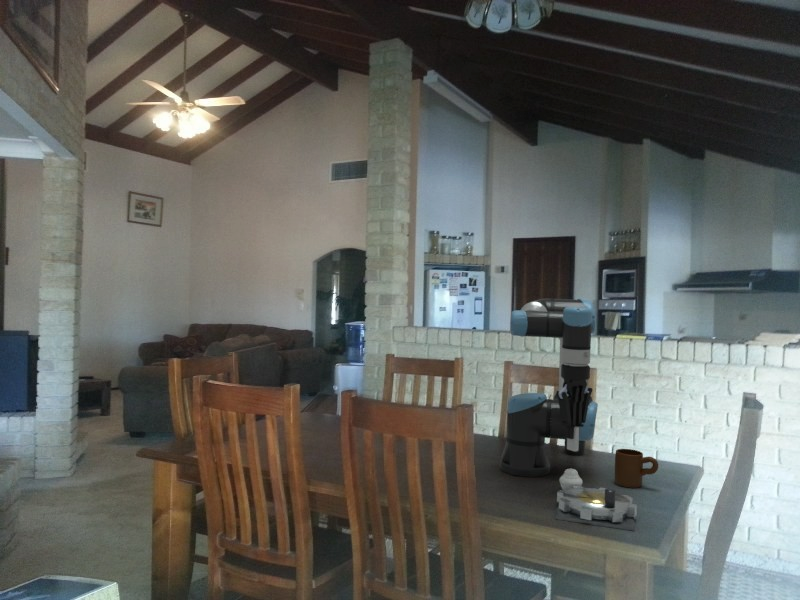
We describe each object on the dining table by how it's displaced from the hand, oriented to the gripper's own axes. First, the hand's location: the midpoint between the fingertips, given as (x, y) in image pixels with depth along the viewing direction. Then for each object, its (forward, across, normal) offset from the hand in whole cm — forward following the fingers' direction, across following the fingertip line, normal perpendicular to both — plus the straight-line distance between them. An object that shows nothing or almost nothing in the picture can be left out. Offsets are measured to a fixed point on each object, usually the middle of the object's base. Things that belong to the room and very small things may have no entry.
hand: (572, 449), depth 168 cm
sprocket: (+11, -6, -12) cm, 18 cm away
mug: (+13, +22, -6) cm, 26 cm away
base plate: (+12, -6, -12) cm, 18 cm away
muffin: (+12, 0, 0) cm, 12 cm away
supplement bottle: (+14, +36, +26) cm, 46 cm away
